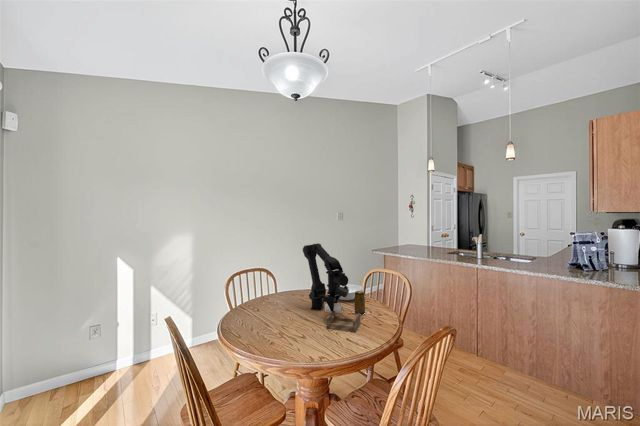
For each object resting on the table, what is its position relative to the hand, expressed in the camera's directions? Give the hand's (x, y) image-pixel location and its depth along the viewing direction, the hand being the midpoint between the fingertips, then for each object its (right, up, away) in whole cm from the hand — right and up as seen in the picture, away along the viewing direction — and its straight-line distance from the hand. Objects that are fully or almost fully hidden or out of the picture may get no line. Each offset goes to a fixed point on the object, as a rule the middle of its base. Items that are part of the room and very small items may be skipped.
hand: (333, 309), depth 169 cm
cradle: (+5, -4, -13) cm, 15 cm away
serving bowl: (+10, -3, +33) cm, 34 cm away
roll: (0, +1, 0) cm, 1 cm away
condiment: (+16, -4, +5) cm, 17 cm away
